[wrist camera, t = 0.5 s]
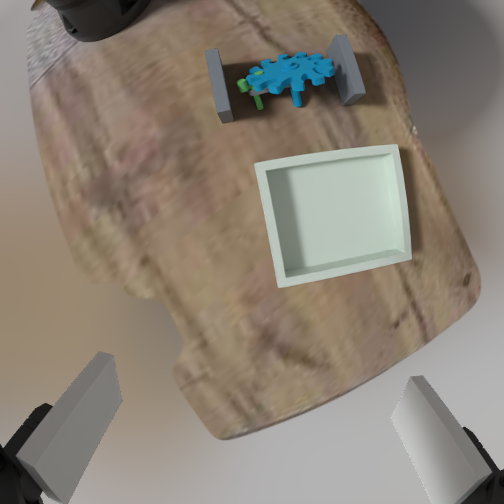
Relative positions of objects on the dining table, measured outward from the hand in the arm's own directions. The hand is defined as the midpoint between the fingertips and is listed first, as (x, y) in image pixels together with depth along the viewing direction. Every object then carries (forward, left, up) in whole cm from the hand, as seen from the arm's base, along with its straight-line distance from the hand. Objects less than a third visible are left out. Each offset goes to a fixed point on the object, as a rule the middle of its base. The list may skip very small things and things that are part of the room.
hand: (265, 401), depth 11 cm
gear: (-21, +7, -25) cm, 34 cm away
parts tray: (-4, +10, -25) cm, 27 cm away
